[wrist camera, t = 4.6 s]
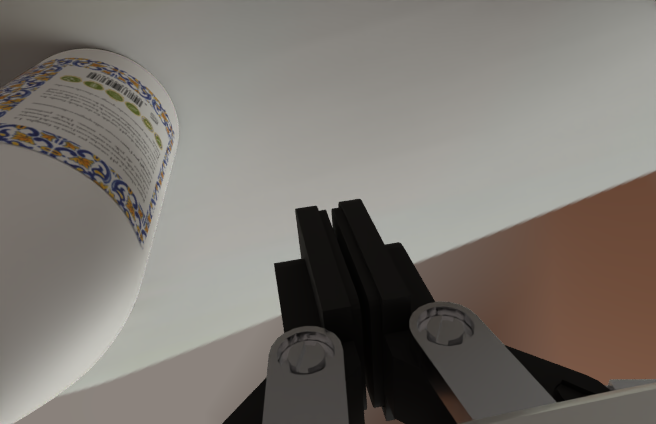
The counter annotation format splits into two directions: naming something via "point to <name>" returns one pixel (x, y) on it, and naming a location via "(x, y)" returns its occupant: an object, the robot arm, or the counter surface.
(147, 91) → the bath foam
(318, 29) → the counter surface
